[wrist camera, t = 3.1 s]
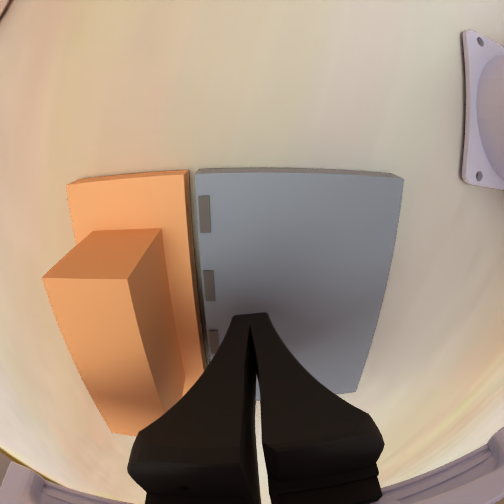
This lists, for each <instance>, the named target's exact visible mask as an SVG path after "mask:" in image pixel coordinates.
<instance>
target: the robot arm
mask: <svg viewBox="0 0 504 504" xmlns="http://www.w3.org/2000/svg"><path fill="white" fill-rule="evenodd" d="M477 40H478V42H479V44H478V42H477ZM463 46H464V57H465V74H466V125H465V143H464V155H463V166H462V178H463V180H464V182H466V183H468V184H470V185H476V186H482V187H488V188H494V189H500V190H504V47H503V46H501V45H499V44H498V43H496V42H494V41H492V40H490V39H489V38H487V37H485V36H483V35H481V34H479V33H477V32H475V31H473V30H470V29H469V30H465V31H464V32H463ZM477 172H478V176H477V178H476V174H477ZM256 376H257V378H258V383H259V389H260V403H261V427H262V445H263V451H264V457H265V463H266V469H267V474H268V486H269V495H270V499H271V504H494V503H496V502H497V501H499V500H500V499H502V498H503V497H504V427H503V428H501V429H500V430H498V431H497V432H496V433H495V434H494V435H493V436H492V437H491V438H490V440H489V441H488V443H487V444H485V445H484V446H482V447H480V448H478V449H476V450H474V451H472V452H470V453H468V454H467V455H465V456H463V457H460V458H458V459H456V460H454V461H452V462H450V463H448V464H445V465H443V466H441V467H439V468H436V469H434V470H432V471H429V472H427V473H424V474H422V475H419V476H416V477H414V478H411V479H408V480H405V481H402V482H400V483H397V484H393V485H390V486H387V487H384V488H380V484H379V481H378V478H377V476H378V474H379V471H378V468H377V464H376V462H377V460H378V458H379V456H380V455H381V453H382V451H383V448H384V441H383V438H382V435H381V433H380V431H379V429H378V427H377V426H376V424H375V422H374V421H373V419H372V418H371V416H370V415H369V414H368V413H366V412H364V411H362V410H360V409H358V408H356V407H354V406H353V405H351V404H349V403H348V402H346V401H345V400H343V399H341V398H340V397H338V396H337V395H336V394H334V393H333V392H332V391H330V390H329V389H328V388H326V387H325V386H324V385H323V384H321V383H320V382H319V381H318V380H317V379H315V378H314V377H313V376H312V375H311V374H310V373H309V372H308V371H307V370H306V369H305V368H304V367H303V366H302V365H301V364H300V363H299V362H298V360H297V359H296V358H295V357H294V356H293V354H292V353H291V352H290V351H289V349H288V348H287V347H286V345H285V344H284V342H283V341H282V339H281V338H280V336H279V335H278V333H277V332H276V330H275V328H274V326H273V324H272V322H271V320H270V317H269V314H268V313H266V312H261V313H251V314H241V315H234V316H233V317H232V319H231V322H230V325H229V328H228V330H227V332H226V334H225V337H224V339H223V341H222V342H221V344H220V346H219V348H218V350H217V352H216V354H215V355H214V357H213V358H212V360H211V362H210V363H209V365H208V366H207V368H206V369H205V371H204V372H203V373H202V375H201V376H200V377H199V379H198V380H197V381H196V382H195V384H194V385H193V386H192V387H191V388H190V389H189V390H188V392H187V393H186V394H185V395H184V396H183V397H182V398H181V399H180V400H179V401H178V402H177V403H176V404H175V405H173V406H172V407H171V408H170V409H169V410H168V411H167V412H166V413H164V414H163V415H162V416H161V417H160V418H158V419H157V420H155V421H154V422H153V423H151V424H150V425H148V426H147V427H145V428H144V429H142V430H141V431H139V432H138V434H137V437H136V439H135V442H134V444H133V447H132V450H131V454H130V458H129V463H128V467H127V470H128V473H129V475H130V476H131V477H132V479H133V480H134V481H135V482H136V483H137V484H138V485H140V486H141V487H142V488H143V489H144V490H145V491H146V492H147V494H146V501H145V504H261V497H260V486H259V474H258V462H257V449H256V435H255V404H256ZM0 504H133V503H127V502H122V501H117V500H112V499H107V498H103V497H99V496H95V495H91V494H87V493H83V492H80V491H76V490H73V489H69V488H66V487H63V486H60V485H57V484H54V483H51V482H48V481H45V480H44V479H43V478H42V477H41V476H40V475H39V474H38V473H36V472H35V471H33V470H31V469H29V468H27V467H25V466H22V465H20V464H17V463H15V462H10V465H9V467H8V469H7V472H6V475H5V477H4V480H3V482H2V485H1V487H0Z"/></svg>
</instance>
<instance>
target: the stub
mask: <svg viewBox="0 0 504 504" xmlns="http://www.w3.org/2000/svg"><path fill="white" fill-rule="evenodd" d="M66 189H67V196H68V202H69V209H70V215H71V220H72V226H73V231H74V236H75V241H76V246H75V247H74V248H73V249H72V250H71V251H70V252H69V253H67V254H66V255H65V256H64V257H63V258H62V259H61V260H60V261H59V262H58V263H57V264H56V265H54V266H53V267H52V268H51V269H50V270H49V271H48V272H47V273H46V274H45V275H44V276H43V277H42V280H43V283H44V286H45V289H46V292H47V295H48V298H49V301H50V304H51V307H52V310H53V313H54V315H55V318H56V321H57V323H58V326H59V328H60V331H61V333H62V336H63V338H64V341H65V343H66V345H67V348H68V350H69V352H70V354H71V357H72V359H73V361H74V363H75V365H76V368H77V370H78V372H79V374H80V376H81V378H82V380H83V382H84V384H85V386H86V388H87V390H88V392H89V394H90V395H91V397H92V399H93V401H94V403H95V405H96V406H97V408H98V410H99V412H100V413H101V415H102V417H103V419H104V420H105V422H106V424H107V425H108V427H109V429H110V430H111V432H112V433H118V434H124V435H130V436H137V434H138V432H139V431H141V430H142V429H144V428H145V427H147V426H148V425H150V424H151V423H153V422H154V421H155V420H157V419H158V418H160V417H161V416H162V415H163V414H164V413H166V412H167V411H168V410H169V409H170V408H171V407H172V406H173V405H175V404H176V403H177V402H178V401H179V400H180V399H181V398H182V397H183V396H184V395H185V394H186V393H187V392H188V390H189V389H190V388H191V387H192V386H193V385H194V384H195V382H196V381H197V380H198V379H199V377H200V376H201V375H202V373H203V372H204V371H205V369H206V368H207V364H206V357H205V349H204V341H203V333H202V325H201V316H200V308H199V298H198V289H197V279H196V268H195V257H194V245H193V232H192V219H191V203H190V186H189V170H176V171H160V172H146V173H134V174H123V175H113V176H104V177H95V178H86V179H79V180H76V181H74V182H72V183H70V184H67V185H66Z"/></svg>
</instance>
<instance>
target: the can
mask: <svg viewBox="0 0 504 504" xmlns="http://www.w3.org/2000/svg"><path fill="white" fill-rule="evenodd" d="M9 2H10V0H0V17H1V16H2V14H3V13H4V11H5V9H6V7H7V6H8V4H9Z"/></svg>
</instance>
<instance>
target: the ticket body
mask: <svg viewBox="0 0 504 504" xmlns="http://www.w3.org/2000/svg"><path fill="white" fill-rule="evenodd" d="M403 182H404V179H403V178H401V177H398V176H396V175H394V174H391V173H381V172H368V171H353V170H335V169H311V168H212V169H199V170H198V171H197V172H196V173H195V192H196V210H197V226H198V240H199V253H200V266H201V278H202V289H203V299H204V309H205V319H206V328H207V337H208V346H209V354H210V362H211V360H212V358H213V357H214V355H215V354H216V352H217V350H218V348H219V346H220V344H221V342H222V341H223V339H224V337H225V334H226V332H227V330H228V328H229V325H230V322H231V319H232V317H233V316H234V315H241V314H251V313H261V312H266V313H268V314H269V317H270V320H271V322H272V324H273V326H274V328H275V330H276V332H277V333H278V335H279V336H280V338H281V339H282V341H283V342H284V344H285V345H286V347H287V348H288V349H289V351H290V352H291V353H292V354H293V356H294V357H295V358H296V359H297V360H298V362H299V363H300V364H301V365H302V366H303V367H304V368H305V369H306V370H307V371H308V372H309V373H310V374H311V375H312V376H313V377H314V378H315V379H317V380H318V381H319V382H320V383H321V384H323V385H324V386H325V387H326V388H328V389H329V390H330V391H332V392H333V393H334V394H344V393H351V392H356V389H357V386H358V384H359V381H360V378H361V375H362V372H363V369H364V366H365V362H366V359H367V356H368V353H369V349H370V346H371V343H372V339H373V336H374V332H375V329H376V325H377V321H378V317H379V314H380V310H381V306H382V302H383V297H384V293H385V289H386V284H387V280H388V275H389V271H390V266H391V261H392V256H393V250H394V245H395V239H396V233H397V227H398V220H399V214H400V207H401V199H402V191H403ZM256 401H260V389H259V383H258V378H257V376H256Z"/></svg>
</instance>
